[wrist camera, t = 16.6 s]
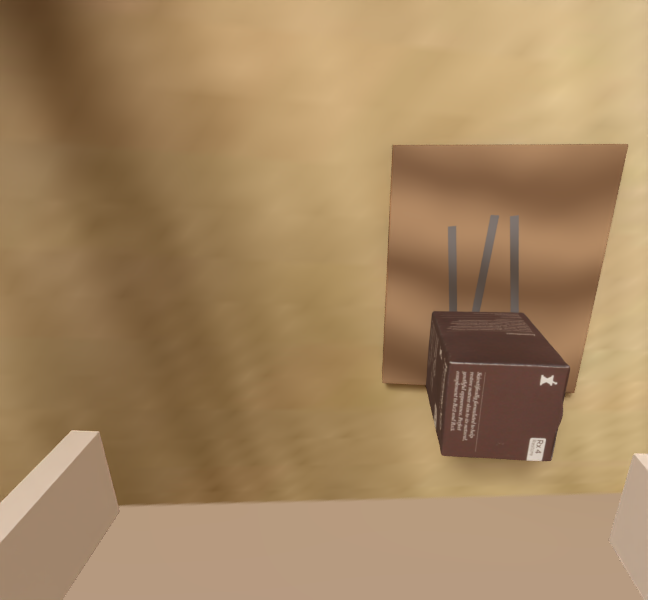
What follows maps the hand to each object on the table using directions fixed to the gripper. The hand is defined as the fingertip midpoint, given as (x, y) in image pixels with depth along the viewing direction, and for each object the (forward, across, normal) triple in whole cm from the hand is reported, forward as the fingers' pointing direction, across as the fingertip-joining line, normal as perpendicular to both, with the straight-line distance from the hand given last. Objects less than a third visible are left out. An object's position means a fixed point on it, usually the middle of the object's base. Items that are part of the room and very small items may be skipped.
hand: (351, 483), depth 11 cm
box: (+19, +8, -6) cm, 21 cm away
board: (+20, +8, -1) cm, 22 cm away
